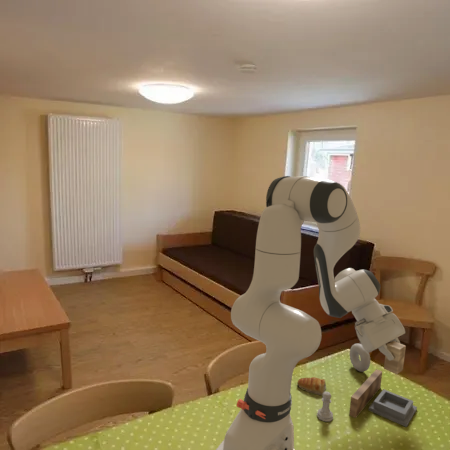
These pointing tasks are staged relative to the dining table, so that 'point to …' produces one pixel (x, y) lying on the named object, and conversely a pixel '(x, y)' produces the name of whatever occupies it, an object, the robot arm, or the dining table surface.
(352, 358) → the donut
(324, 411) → the chess piece
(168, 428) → the dining table surface
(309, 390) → the pastry
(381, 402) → the seat block
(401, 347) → the block
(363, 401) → the door edge
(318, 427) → the dining table surface
